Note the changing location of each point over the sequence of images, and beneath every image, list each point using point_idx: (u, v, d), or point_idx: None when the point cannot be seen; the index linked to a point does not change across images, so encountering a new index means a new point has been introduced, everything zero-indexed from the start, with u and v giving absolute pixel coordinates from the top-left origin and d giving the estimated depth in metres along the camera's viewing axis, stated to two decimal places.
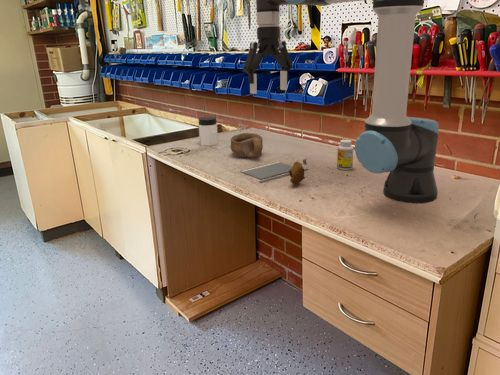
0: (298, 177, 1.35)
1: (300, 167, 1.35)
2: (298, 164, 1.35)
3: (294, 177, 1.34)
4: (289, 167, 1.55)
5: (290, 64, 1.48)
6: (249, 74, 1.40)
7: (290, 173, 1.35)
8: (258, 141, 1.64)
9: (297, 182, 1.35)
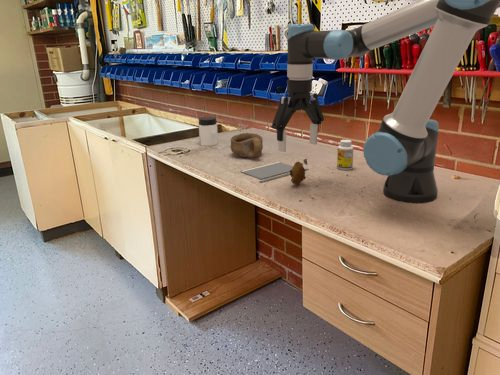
0: (299, 177, 1.35)
1: (301, 167, 1.35)
2: (299, 164, 1.35)
3: (295, 177, 1.34)
4: (289, 167, 1.55)
5: (321, 117, 1.36)
6: (278, 131, 1.28)
7: (291, 173, 1.35)
8: (258, 141, 1.64)
9: (298, 182, 1.35)
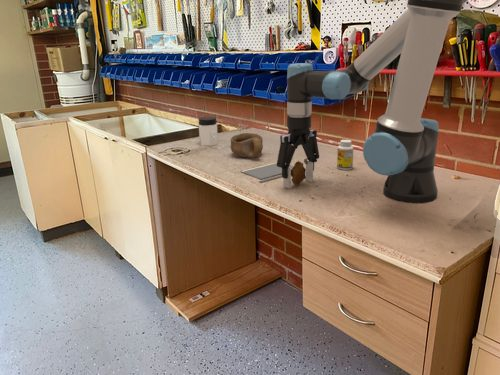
0: (299, 176, 1.35)
1: (301, 167, 1.35)
2: (299, 164, 1.35)
3: (296, 177, 1.34)
4: (289, 167, 1.55)
5: (317, 154, 1.39)
6: (283, 169, 1.33)
7: (291, 173, 1.35)
8: (258, 141, 1.64)
9: (298, 182, 1.35)
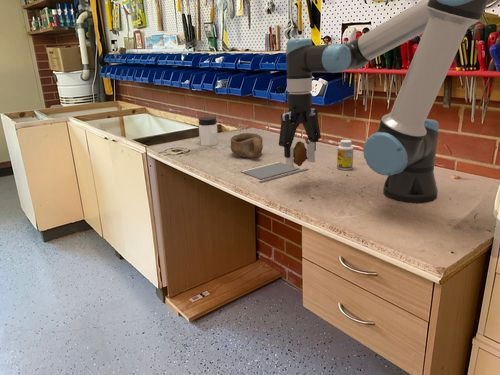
0: (301, 156, 1.32)
1: (303, 147, 1.32)
2: (300, 144, 1.32)
3: (297, 157, 1.31)
4: None
5: (318, 134, 1.36)
6: (285, 148, 1.30)
7: (293, 153, 1.32)
8: (258, 141, 1.64)
9: (300, 162, 1.32)
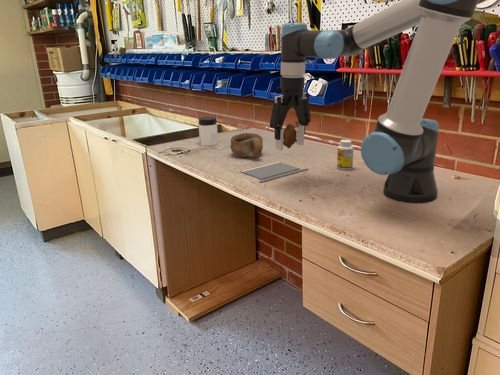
0: (291, 139, 1.35)
1: (293, 129, 1.35)
2: (291, 126, 1.35)
3: (287, 139, 1.34)
4: (289, 167, 1.55)
5: (308, 118, 1.39)
6: (276, 130, 1.33)
7: (283, 135, 1.35)
8: (258, 141, 1.64)
9: (289, 144, 1.36)
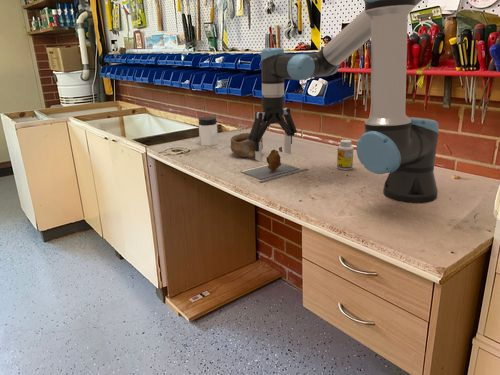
0: (275, 163, 1.49)
1: (276, 154, 1.49)
2: (275, 152, 1.49)
3: (271, 163, 1.47)
4: (289, 167, 1.55)
5: (294, 129, 1.52)
6: (254, 142, 1.43)
7: (267, 160, 1.48)
8: None
9: (274, 168, 1.49)
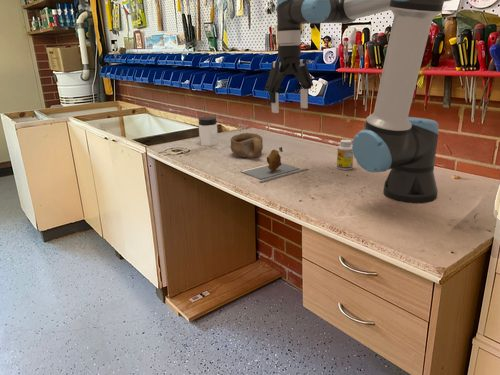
0: (275, 163, 1.49)
1: (277, 154, 1.49)
2: (275, 152, 1.49)
3: (271, 163, 1.47)
4: (289, 167, 1.55)
5: (310, 82, 1.47)
6: (271, 93, 1.38)
7: (268, 160, 1.48)
8: (258, 141, 1.64)
9: (274, 168, 1.49)
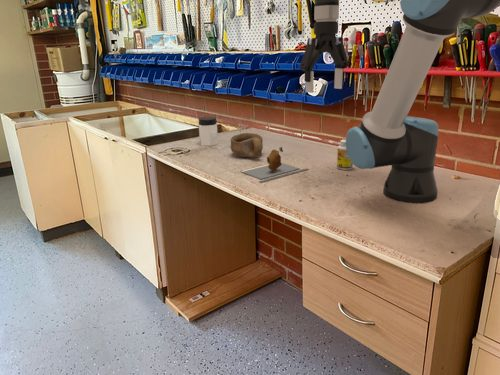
0: (275, 163, 1.49)
1: (277, 154, 1.49)
2: (275, 152, 1.49)
3: (272, 163, 1.47)
4: (289, 167, 1.55)
5: (346, 61, 1.40)
6: (306, 72, 1.32)
7: (268, 160, 1.48)
8: (258, 141, 1.64)
9: (274, 168, 1.49)
